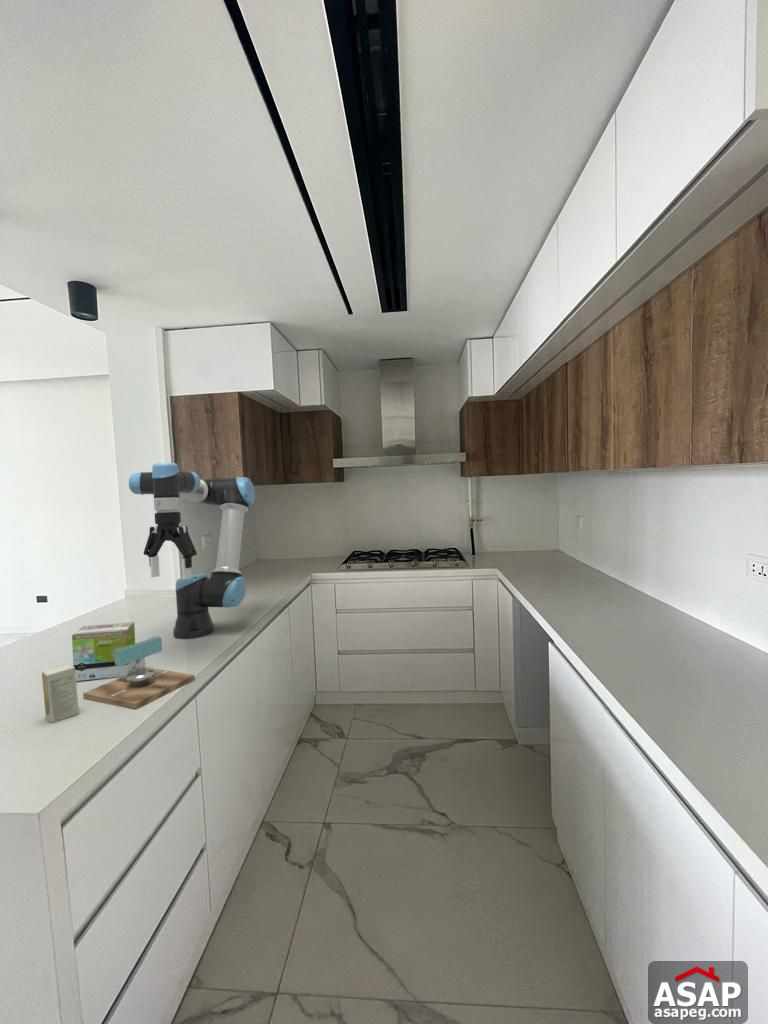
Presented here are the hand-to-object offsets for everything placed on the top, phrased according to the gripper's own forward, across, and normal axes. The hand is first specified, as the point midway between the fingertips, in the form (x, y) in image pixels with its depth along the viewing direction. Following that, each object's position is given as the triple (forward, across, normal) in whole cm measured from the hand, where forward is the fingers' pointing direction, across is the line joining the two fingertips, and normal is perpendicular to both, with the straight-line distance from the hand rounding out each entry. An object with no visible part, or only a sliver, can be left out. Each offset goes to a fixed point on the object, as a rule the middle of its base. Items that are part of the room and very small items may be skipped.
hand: (170, 577), depth 149 cm
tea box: (+29, -16, -12) cm, 35 cm away
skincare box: (+29, 0, -36) cm, 46 cm away
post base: (+29, +5, -17) cm, 34 cm away
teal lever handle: (+25, +5, -17) cm, 31 cm away
